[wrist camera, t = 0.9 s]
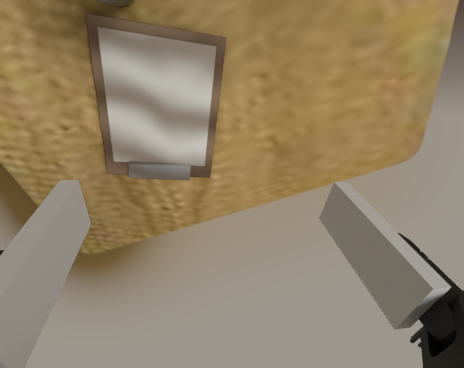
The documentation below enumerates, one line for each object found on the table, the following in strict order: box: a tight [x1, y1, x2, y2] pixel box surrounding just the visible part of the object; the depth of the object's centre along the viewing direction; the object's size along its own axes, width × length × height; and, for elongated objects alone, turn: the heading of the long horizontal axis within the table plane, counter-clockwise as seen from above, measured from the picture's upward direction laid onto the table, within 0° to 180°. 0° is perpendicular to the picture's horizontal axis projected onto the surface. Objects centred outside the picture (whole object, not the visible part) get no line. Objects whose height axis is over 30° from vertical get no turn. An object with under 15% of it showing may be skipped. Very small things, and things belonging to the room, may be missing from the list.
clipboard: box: [85, 13, 226, 180], centre depth 29 cm, size 18×14×2 cm
